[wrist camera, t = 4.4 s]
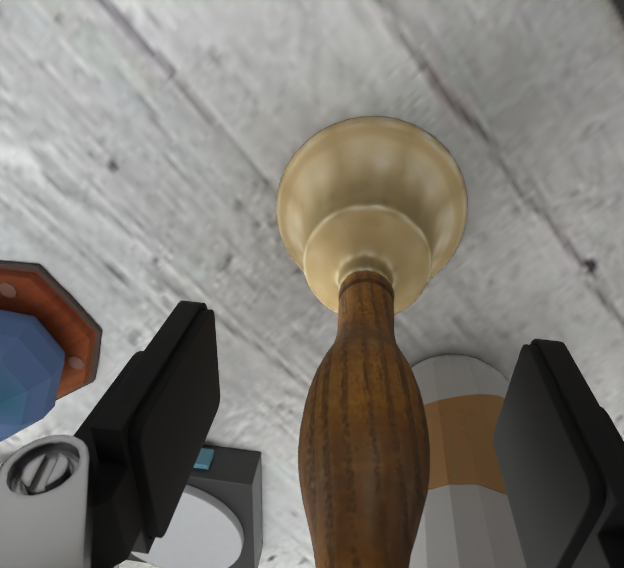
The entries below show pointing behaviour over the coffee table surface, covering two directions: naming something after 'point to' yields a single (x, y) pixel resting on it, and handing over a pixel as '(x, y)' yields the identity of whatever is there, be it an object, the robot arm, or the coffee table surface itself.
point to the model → (40, 345)
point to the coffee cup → (464, 469)
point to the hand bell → (367, 327)
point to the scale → (214, 515)
